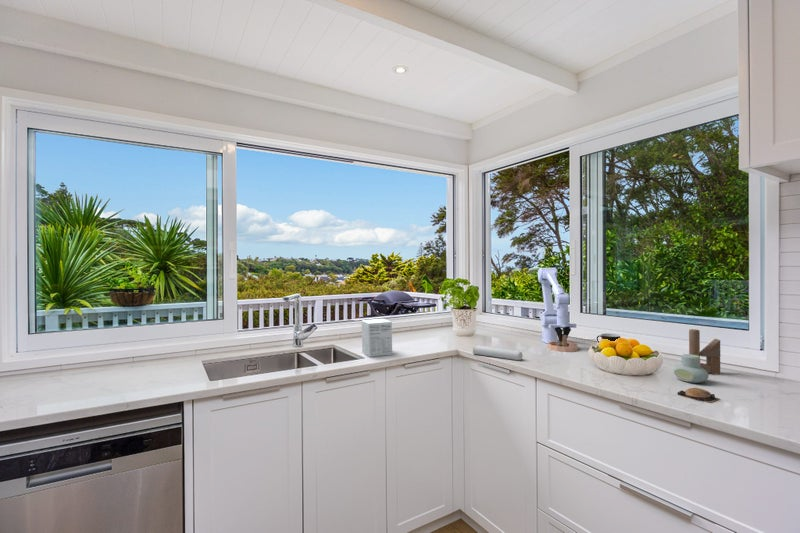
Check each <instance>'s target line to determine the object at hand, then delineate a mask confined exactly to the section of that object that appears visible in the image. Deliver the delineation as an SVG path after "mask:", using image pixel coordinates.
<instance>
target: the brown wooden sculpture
mask: <svg viewBox="0 0 800 533" xmlns="http://www.w3.org/2000/svg"><path fill="white" fill-rule="evenodd" d="M688 330H689V331H688V341H689V342H688V354H692V355H697V356H699V357H700V358H701V357H703V358H704V357H705V359H706V361H705V362H706V363H704V362H703V363H702V362H700V367H701V368H703V369H705V370H706V371H707V372H708V375H709V374H711V375H721V340H720V339H718V338H713V339H712V341H710V342H709V343H708V344H707V345H705V347H703V348H702V349H700V346H701V343H700V342H701V341H700V338H701V336H700V335H701V334H700V330H699V329H697V328H696V329H693V328H691V329H690V328H689V329H688Z"/></svg>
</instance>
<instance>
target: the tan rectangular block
mask: <svg viewBox="0 0 800 533" xmlns="http://www.w3.org/2000/svg"><path fill="white" fill-rule="evenodd" d="M567 340H568V338H567V335H565V334H563V333H562V342H560V341H559V340H558V341H559V343H560V344H561V347H567V342H568V341H567Z"/></svg>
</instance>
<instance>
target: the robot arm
mask: <svg viewBox="0 0 800 533" xmlns="http://www.w3.org/2000/svg"><path fill="white" fill-rule="evenodd" d="M557 277H558V269H557V268H556V267H539V268H538V270H537V280H538V283H540V284H541V289H542V299H543V305H544V311H543V312H541V314H540V325H541V326H542V328H541V339H540V341H541V342H543V343H545V344H548V342H552V341H560V342H562V334H565V335H567V339H568V338H569V335H570V332H571V331H572V329H571V328H574V329H576V328H577V324H576V323H569V305H570V302H571V298H570V294H569V293H567V292H565V290H564V288H563V285H561V284H559V281H558V278H557ZM551 286H552V287H551ZM552 293H553V294H552ZM553 296H554V300H553ZM554 303H555V304H554ZM554 305H555V308H556V310H555V309H554Z"/></svg>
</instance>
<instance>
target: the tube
mask: <svg viewBox="0 0 800 533" xmlns="http://www.w3.org/2000/svg"><path fill="white" fill-rule="evenodd" d="M472 354H473V355H475V356H482V357H483V356H484V357H491V358H499V359H503V360H513V361H517V362H519V361H522V359H523V358H524V357H523V353H522V351H520V350H515V349H509V348H500V347H494V346H486V345H479V344H474V345H473V348H472Z"/></svg>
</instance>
